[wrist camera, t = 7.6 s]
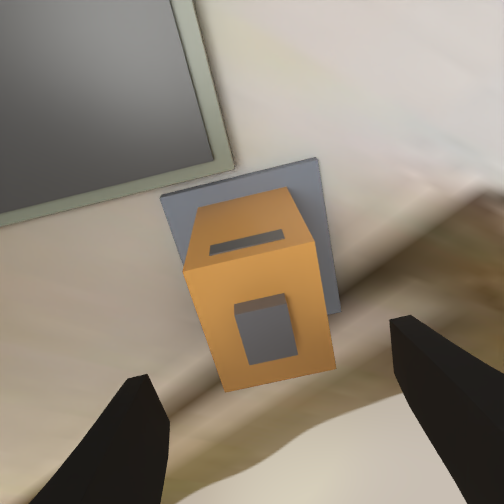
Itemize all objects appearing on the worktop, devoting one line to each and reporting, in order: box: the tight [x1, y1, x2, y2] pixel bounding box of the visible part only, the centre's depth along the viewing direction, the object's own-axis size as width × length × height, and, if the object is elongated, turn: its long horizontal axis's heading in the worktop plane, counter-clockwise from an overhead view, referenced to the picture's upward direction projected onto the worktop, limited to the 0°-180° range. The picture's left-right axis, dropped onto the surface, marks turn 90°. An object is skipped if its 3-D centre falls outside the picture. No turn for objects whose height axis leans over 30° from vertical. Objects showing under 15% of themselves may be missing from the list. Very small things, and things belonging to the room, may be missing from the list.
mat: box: [160, 157, 341, 315], centre depth 18 cm, size 7×8×1 cm
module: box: [183, 187, 336, 392], centre depth 15 cm, size 4×5×7 cm
